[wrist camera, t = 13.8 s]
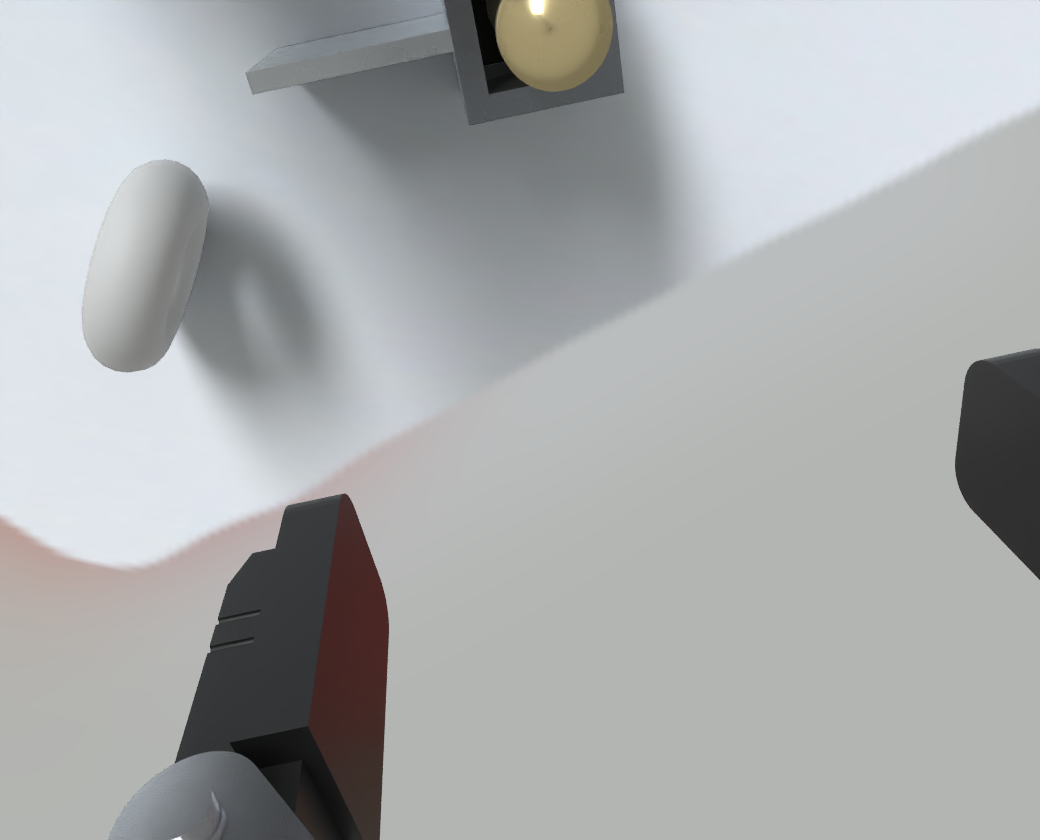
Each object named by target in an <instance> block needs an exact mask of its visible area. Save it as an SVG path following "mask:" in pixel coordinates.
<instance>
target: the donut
mask: <svg viewBox="0 0 1040 840" xmlns="http://www.w3.org/2000/svg"><path fill="white" fill-rule="evenodd" d="M208 215H209V202H208V197H207V192H206V190H205V188H204V186H203V184H202V183H201V181H200V179H199V177H198V176H197V175H196V174H195V173H194V172H193V171H192V170H191V169H190V168H188V167H186V166H185V165H183V164H181V163H179V162H176V161H171V160H166V159H164V160H155V161H151V162H148V163H146V164H144V165H141V166H139V167H137V168H135V169H134V170H133V171H132V172H131V173H130V174H129V175H128V176H127V178H126V179H125V180H124V182H123V183H122V184H121V185H120V187H119V188H118V190H117V192H116V194H115V196H114V198H113V200H112V201H111V203H110V205H109V207H108V210H107V212H106V215H105V218H104V220H103V223H102V225H101V228H100V231H99V233H98V237H97V240H96V243H95V247H94V250H93V253H92V257H91V260H90V265H89V269H88V274H87V279H86V283H85V288H84V296H83V305H82V329H83V334H84V339H85V341H86V344H87V346H88V348H89V350H90V351H91V353H92V355H93V356H94V358H95V359H96V360H98V361H99V362H100V363H101V364H102V365H103V366H105V367H108V368H110V369H112V370H115V371H121V372H134V371H140V370H145V369H147V368H149V367H151V366H153V365H155V364H156V363H157V362H158V361H159V360H160V359H161V358H162V357H163V356H164V355H165V353H166V352H167V351H168V349H169V347H170V345H171V343H172V341H173V339H174V337H175V335H176V332H177V330H178V328H179V325H180V323H181V320H182V317H183V315H184V312H185V309H186V306H187V303H188V300H189V298H190V295H191V291H192V288H193V285H194V281H195V278H196V274H197V270H198V267H199V263H200V259H201V255H202V250H203V245H204V241H205V235H206V229H207V222H208Z"/></svg>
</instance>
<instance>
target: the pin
mask: <svg viewBox="0 0 1040 840" xmlns="http://www.w3.org/2000/svg"><path fill="white" fill-rule="evenodd" d="M487 14H488V17H489V20H490V22H491V24H492V26H493V27H494V29H495V34H496V40H497V45H498V48H499V51H500V53H501V55H502V57H503V59H504V61H505V62H506V64H507V65H508V67H509V68H510V70H511V71H512V72H513V73H514V74H515V75H516V76H517V77H518V78H519V79H520V80H521V81H523V82H524V83H526V84H527V85H529V86H531V87H533V88H536V89H539V90H543V91H550V92H557V91H564V90H568V89H571V88H574V87H576V86H578V85H580V84H581V83H583V82H585V81H586V80H587V79H589V78H590V77H591V76H592V75H593V74H594V73H595V72H596V71H597V69H598V68H599V67H600V65H601V64H602V62H603V61H604V59H605V57H606V55H607V52H608V50H609V47H610V44H611V39H612V33H613V17H612V11H611V7H610V4H609V0H487Z"/></svg>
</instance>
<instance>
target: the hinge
mask: <svg viewBox="0 0 1040 840" xmlns="http://www.w3.org/2000/svg"><path fill="white" fill-rule="evenodd" d="M442 4H443V9H444V13H441V14H437V15H432V16H427V17H422V18H418V19H413V20H408V21H404V22H399V23H394V24H390V25H385V26H380V27H376V28H371V29H366V30H362V31H357V32H352V33H348V34H343V35H338V36H333V37H329V38H324V39H319V40H315V41H310V42H305V43H301V44H296V45H291V46H287V47H282V48H277V49H276V50H274V51H273V52H272V53H270V54H269V55H268V56H267V57H265V58H264V59H263V60H261V61H260V62H259V63H257V64H256V65H255V66H253V67H252V68H251V69H250V70H248V71H247V72H246V76H247V79H248V82H249V85H250V88H251V91H252V94H257V93H262V92H266V91H271V90H276V89H281V88H285V87H290V86H295V85H299V84H304V83H309V82H313V81H318V80H323V79H327V78H332V77H337V76H341V75H346V74H351V73H356V72H360V71H365V70H370V69H374V68H379V67H384V66H388V65H393V64H398V63H402V62H407V61H412V60H417V59H421V58H426V57H431V56H435V55H440V54H445V53H449V52H453V57H454V62H455V67H456V71H457V76H458V81H459V86H460V91H461V95H462V99H463V103H464V106H465V110H466V114H467V118H468V121H469V125H474V124H478V123H483V122H488V121H492V120H497V119H502V118H506V117H511V116H516V115H521V114H525V113H530V112H535V111H539V110H544V109H549V108H553V107H558V106H563V105H568V104H572V103H577V102H582V101H586V100H591V99H596V98H600V97H605V96H610V95H614V94H619V93H624V88H623V79H622V70H621V61H620V51H619V42H618V33H617V24H616V14H615V5H614V0H609V4H610V7H611V11H612V17H613V33H612V39H611V44H610V47H609V50H608V52H607V55H606V57H605V59H604V61H603V62H602V64H601V65H600V67H599V68H598V69H597V71H596V72H595V73H594V74H593V75H592V76H591V77H590V78H589V79H587V80H586V81H585V82H583V83H581V84H580V85H578V86H576V87H574V88H571V89H568V90H564V91H557V92H550V91H543V90H539V89H536V88H533V87H531V86H529V85H527V84H526V83H524V82H523V81H521V80H520V79H519V78H518V77H517V76H516V75H515V74H514V73H513V72H512V71H511V70H510V68H509V67H508V65H507V64H506V62H500V63H495V64H491V65H486V66H483V62H482V56H481V51H480V46H479V40H478V35H477V30H476V25H475V19H474V14H473V9H472V4H471V0H442Z"/></svg>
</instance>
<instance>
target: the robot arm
mask: <svg viewBox="0 0 1040 840" xmlns="http://www.w3.org/2000/svg"><path fill="white" fill-rule="evenodd" d="M955 471H956V477H957V481H958V485H959V488H960V491H961V493H962V495H963V497H964V499H965V501H966V502H967V504H968V505H969V507H970V508H971V509H972V510H973V511H974V512H975V513H976V514H977V515H978V516H979V517H980V519H981V520H982V521H983V522H984V523H985V524H986V525H987V526H988V527H989V528H990V529H991V530H992V531H993V532H994V533H995V534H996V535H997V536H998V537H999V538H1000V539H1001V540H1002V541H1003V542H1004V543H1005V544H1006V545H1007V546H1008V547H1009V549H1010V550H1012V552H1013V553H1014V554H1015V555H1016V556H1017V557H1018V558H1019V559H1020V560H1021V561H1022V562H1023V563H1024V564H1025V565H1026V566H1027V567H1028V568H1029V569H1030V570H1031V571H1032V572H1033V573H1034V574H1035V575H1036V576H1037V577H1038V579H1039V580H1040V349H1032V350H1027V351H1022V352H1017V353H1013V354H1008V355H1004V356H999V357H994V358H990V359H984V360H980V361H976V362H974V363H973V364H972V365H971V366H970V367H969V369H968V371H967V374H966V378H965V383H964V391H963V401H962V408H961V417H960V425H959V434H958V442H957V451H956V458H955ZM218 620H219V625H216V626H215V630H214V633H213V637H212V640H211V643H210V649H211V652H210V653H208V654H207V657H206V660H205V663H204V667H203V670H202V673H201V677H200V680H199V684H198V687H197V690H196V694H195V697H194V701H193V704H192V707H191V711H190V714H189V717H188V721H187V724H186V727H185V731H184V734H183V737H182V741H181V744H180V747H179V751H178V754H177V758H176V761H175V764H173V765H171V766H169V767H168V768H166V769H165V770H163V771H162V772H160V773H159V774H157V775H156V776H155V777H153V778H152V779H151V780H150V781H149V782H147V783H146V784H145V785H144V786H143V787H142V788H141V789H140V790H139V791H138V792H137V793H136V794H135V795H134V796H133V797H132V799H131V800H130V801H129V802H128V803H127V805H126V806H125V807H124V809H123V810H122V812H121V813H120V815H119V817H118V818H117V820H116V822H115V824H114V826H113V828H112V830H111V832H110V835H109V839H108V840H380V819H381V797H382V796H381V795H382V774H383V752H384V729H385V706H386V684H387V663H388V639H389V620H388V611H387V604H386V598H385V594H384V590H383V586H382V583H381V580H380V577H379V574H378V571H377V569H376V566H375V563H374V561H373V558H372V555H371V552H370V549H369V547H368V544H367V541H366V539H365V536H364V533H363V530H362V527H361V525H360V522H359V519H358V516H357V514H356V511H355V508H354V506H353V503H352V501H351V500H350V498H349V496H348V495H347V494H340V495H335V496H331V497H326V498H321V499H316V500H312V501H307V502H302V503H297V504H292V505H288V506H287V507H286V509H285V511H284V515H283V518H282V523H281V527H280V531H279V535H278V540H277V544H276V548H275V549H271V550H266V551H261V552H256V553H253V554H252V555H251V556H250V557H249V559H248V560H247V561H246V562H245V564H244V565H243V566H242V568H241V569H240V570H239V571H238V573H237V574H236V575H235V577H234V578H233V579H232V580H231V582H230V583H229V584H228V586H227V590H226V593H225V596H224V600H223V603H222V606H221V610H220V613H219V616H218Z"/></svg>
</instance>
